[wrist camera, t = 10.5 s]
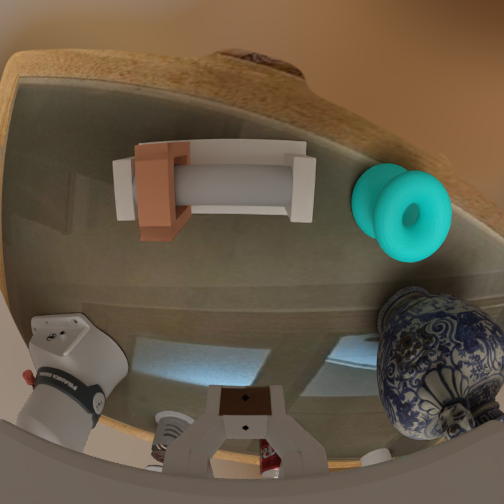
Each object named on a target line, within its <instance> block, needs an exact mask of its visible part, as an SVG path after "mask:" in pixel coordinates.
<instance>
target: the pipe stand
mask: <svg viewBox="0 0 504 504" xmlns="http://www.w3.org/2000/svg"><path fill="white" fill-rule="evenodd" d="M170 142H190V165H179V164H178V163H174V189H175V208H176V207H178V206H179V205H191V213H208V214H268V215H288V217H289V219H290V221H291V222H307V223H312V215H313V202H314V188H315V172H316V158H314V157H310V156H307V155H306V142H305V141H289V140H266V139H199V140H176V141H161V142H148V143H139V145H144V144H156V143H170ZM113 177H114V191H115V202H116V212H117V221H123V220H136V219H137V218H139V216H138V205H137V191H136V174H135V157H130V158H125V159H120V160H115V161H113Z"/></svg>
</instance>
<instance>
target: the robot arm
mask: <svg viewBox="0 0 504 504" xmlns="http://www.w3.org/2000/svg"><path fill="white" fill-rule="evenodd" d="M31 328H32V332H33V336H32V338H31V340H30V342H29V352H30V355H31V358H32V361H33V363H34V366H35V368H36V371H37V375H36V379H35V377H34V376H33V373H32V372H31V370H27V371H25V372H23V373H24V374H23V377H24V379H25V380H26V382H27V384H28V385H32V386H33V392H32V394H31V395H30V397H29V398H28V400H27V402H26V403H25V404H24V406H23V408H22V409H21V411H20V413H19V414H18V417H17V426H16V425H14V424H12V423H10V422H7V421H6V420H3V419H0V504H504V423H502V422H500V421H497V420H490V421H488V422H486V423H484V424H482V425H480V426H478V427H476V428H474V429H472V430H470V431H468V432H466V433H464V434H461V435H459V436H457V437H454V438H452V439H450V440H447V441H445V442H442V443H440V444H437V445H435V446H432V447H429V448H426V449H424V450H421V451H418V452H415V453H412V454H409V455H405V456H402V457H399V458H395V459H392V460H388V461H384V462H381V463H377V464H372V465H368V466H364V467H359V468H354V469H349V470H344V471H338V472H332V473H329V468H328V463H327V458H326V453H325V449H324V447H323V446H322V445H321V444H320V443H318V442H317V441H316V440H315V439H314V438H313V437H312V436H311V435H310V434H309V433H308V432H307V431H306V430H305V429H303V428H302V427H301V426H300V425H299V424H298V423H297V422H296V421H295V420H294V419H293V418H292V417H291V416H290V415H286V411H285V403H284V396H283V388H282V386H281V385H272V386H269V385H267V386H224V385H209V388H208V395H207V403H206V410H205V415H201V416H200V417H199V418H197V419H196V420H195V421H194V422H193V423H192V424H191V425H190V426H189V427H188V428H187V429H186V430H185V431H184V432H183V433H182V434H181V435H180V436H178V437H177V438H176V439H175V440H174V441H173V442H172V443H171V444H170V445H169V446H167V449H166V453H165V458H164V463H163V468H162V472H157V471H151V470H146V469H140V468H136V467H131V466H127V465H122V464H119V463H114V462H111V461H107V460H103V459H100V458H96V457H93V456H90V455H87V454H84V453H82V452H83V449H84V446H85V444H86V441H87V439H88V436H89V433H90V431H91V429H93V428H94V427H95V426H96V424H97V422H98V420H99V418H100V416H101V413H102V411H103V408H104V406H105V402H106V399H107V398H108V396H109V395H110V393H111V392H112V390H113V389H114V388H115V386H116V385H117V384H118V383H119V382H120V381H121V380H122V379H123V378H124V377H125V376H126V374H127V372H128V363H127V360H126V357H125V355H124V353H123V352H122V350H121V349H120V348H119V346H118V345H117V344H116V343H115V342H114V341H113V340H112V339H111V338H110V337H109V336H107V335H106V334H105V333H103V332H102V331H100V330H99V329H97V328H96V327H95V326H94V325H93V324H92V323H91V322H90V321H89V320H88V318H87V317H86V316H85V315H83V314H81V313H72V314H58V315H42V316H34V317H33V318H32V320H31ZM226 439H266V440H267V441H268V443H269V444H270V445H271V447H272V448H273V449H274V450H275V452H276V453H277V454H278V455H279V457H280V458H281V459H282V460H281V465H280V469H279V473H278V478H272V479H223V478H214V475H213V471H212V468H211V464H210V459H211V458H212V456H213V455H214V454H215V453H216V451H217V450H218V449H219V448H220V446H221V445H222V444H223V443H224V441H225V440H226Z"/></svg>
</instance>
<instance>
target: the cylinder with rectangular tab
mask: <svg viewBox="0 0 504 504" xmlns="http://www.w3.org/2000/svg"><path fill="white" fill-rule="evenodd" d="M388 460H392V458H391V455H390V452H389V450H388V449H386V448H385V449H378V450H375V451H372V452H370V453H368V454H366V455H364V456H363V457H362V458H361V459H360V462H361V466H362V467H364V466H368V465H372V464H377V463H381V462H384V461H388Z"/></svg>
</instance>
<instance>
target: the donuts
mask: <svg viewBox="0 0 504 504" xmlns="http://www.w3.org/2000/svg"><path fill="white" fill-rule="evenodd" d="M351 205H352V212H353V216H354V219H355V221H356V223H357V224H358V226H359V227H360V228H361V230H362V231H363V232H364V233H366V234H367V235H369V236H370V237H372V238H375V239H377V241H378V243H379V245H380V247H381V248H382V249H383V251H384V252H385V253H386V254H388V255H389V256H390V257H392V258H393V259H396V260H398V261H401V262H416V261H420V260H423V259H425V258H427V257H429V256H430V255H432V254H433V253H434V252H435V251H436V250H437V249H438V248H439V247H440V246H441V244H442V243H443V241H444V240H445V238H446V236H447V234H448V231H449V228H450V224H451V217H452V208H451V202H450V198H449V196H448V193H447V191H446V189H445V187H444V186H443V185H442V183H441V182H440V181H439V180H438V179H436V178H435V177H434V176H432V175H431V174H429V173H426V172H423V171H417V170H413V171H407V170H406V169H405V168H403V167H401V166H399V165H396V164H391V163H383V164H378V165H376V166H373V167H371V168H370V169H368V170H367V171H365V172H364V173H363V174H362V175H361V177H360V178H359V179H358V181H357V183H356V185H355V187H354V190H353V193H352V201H351Z"/></svg>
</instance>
